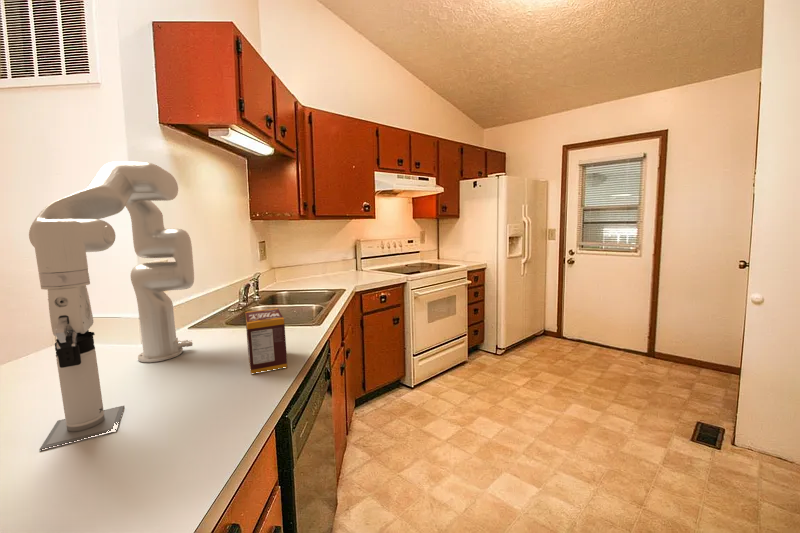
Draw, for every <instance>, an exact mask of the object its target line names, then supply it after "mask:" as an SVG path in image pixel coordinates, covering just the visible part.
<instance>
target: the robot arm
mask: <svg viewBox="0 0 800 533" xmlns="http://www.w3.org/2000/svg"><path fill="white" fill-rule="evenodd" d="M178 194H179V185H178V182H177V179H176V178H175V177H174V176H173V174H172V173H170V172H169V171H167V170H165V169H164V168H162V167H160V166H159V165H156V163H155V164H154V163H152V162H146V161H145V162H144V161H111V162H107V163H105V164H104V165H103V166H102V167H101V168H100V169H99V170H98V172H97V173H96V174H95V176H94V177H93V178H92V180H91V181H90V182H89V184H88V185H87V187H85V189H82V190H79V191H76V192H74V193H71V194H69V195H67V196H64V197H62V198H60V199H57V200H55V201H53V202H51V203H49V204H48V205H46V206H45V207H43V209H42V210H41V211H40V212H39V213H38V215H37V216H36V217H35V219H34V220H33V221H32V223H31V225H30V227H29V229H28V230H29V232H28V238H29V241H30V244H31V245H32V247H34V251H35V258H36V259H35V260H36V265H37V271H38V277H39V285H40V289H41V290H44V291H45V290H47V302H48V312H49V319H50V320H49V321H50V327H51V332H52V334H53V336H54V337H56V340H55V342H57V353H58V359H59V366H60V367H61V368H64V367H69V366H75V365H80V364H81V357H80V350H79V345H77V334H84V333H85V332H90V331H89V329H91V327H92V326H93V325H94V317H93V311H92V307H91V300H90V296H89V291H88V287H87V286H89V285H91V282H90V280H91V279H90V272H89V271H90V270H89V266H88V265H89V264H88V259H87V258H88V256H87V253H97V252H103V251H106V250H108V249H110V248H111V247H113V245H114V244H115V241H116V232H115V229H114V228H113V226H112V225H111V224H110V223H109V222H107V221H105V220H103V219H105V218H109V217H111V216H115V215H117V214H119V213H121V212H122V211H123V210H124V209H125V208H126V209H127V211H128V214H129V216H130V220H131V232H132V241H133V242H132V243H133V248H134V252H135V254H136V255H137V257H139V258H142V259H164V258H165V259H167V258H169V259H170V258H172V259H174V260H175V261H156V262H154V261H153V262H152V261H151V262H143V263H139V264H137V265H135V266H134V267H132V270H131V271H130V282H131V284H132V288H133V290H134V294H135V299H136V303H137V311H138V317H139V318H138V319H139V326H140V334H141V343H142V344H141V345H142V352H141V353H139V354H138V356H137V359H138V361H139V362H140V363H156V362H162V361H168V360H171V359H174V358H175V357H178V356H180V355H181V354H183V352H184V348H188V347H193V340H192V339H191V340H188V339H185V340H179V339H178V337H177V333H176V332H177V331H176V322H175V321H176V320H175V313H174V303H173V301H172V299H171V297H169V296H168V294H166V291H167V292H168V291H178V290H179V291H180V290H181V291H182V290H187V289H190V288H192V286H193V285H194V282H195V269H194V256H193V246H192V240H191V237H190V235H189V233H188V232H187V231H186V230H185V229H183V228H165V225H164V215H163V213H162V211H161V210H160V208H159V207H158V206H157V205H156V204H155V203H154V201H155V202H156V201H157V202H158V201H163V202H165V201H167V202H168V201H172V200H174V199H176V198H177V196H178ZM71 336H72V340H71Z"/></svg>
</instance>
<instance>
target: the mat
mask: <svg viewBox="0 0 800 533" xmlns="http://www.w3.org/2000/svg"><path fill="white" fill-rule="evenodd" d="M123 409H124V410H125V405H120V406H116V407H111V408H108V409H106V408H105V409H103V410H104V411H103V412H104V417H105V418H104V420H103V421H102V422H101V423H100V424H98V425H96V426H94V427H92V428H89V429H86V430H82V431H76V432H72V431H68V430H67V426H66V419H65V418H63V419H59V420H57V421H56V422H55V424H54V425H53V427H52V429H51V430H50V432H49V433H48V435H47V437H46V438H45V440H44V441H43V443H42V444H41V445H40V447H39V451H40V450H42V449H45V448H49V447H53V446H57V445H62V444H65V443H69V442H74V441H77V440H81V439H84V438H88V437H91V436H95V435H99V434H102V433H106V432H107V431H108V430H109V431H111V429H113V426H114V423H115V424H116V425H117V423H118V422H119V421H120V422H121V420H120V418H122V417H121V415H122V416H123V414H122V412H123V413H124V411H123ZM116 422H117V423H116ZM118 424H119V425H120V423H118ZM115 430H116V429H115ZM109 431H108V432H109Z"/></svg>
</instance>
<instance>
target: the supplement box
mask: <svg viewBox="0 0 800 533" xmlns="http://www.w3.org/2000/svg"><path fill="white" fill-rule="evenodd" d="M244 313H245V326H246V327H245V328H246V341H247V353H248V362H249V363H250V364H249V363H248V364H249V370H250V369H251V370H250V374H251V373H256V372H261V371H267V370H273V369H278V368H283V367H287V368H288V360H287V359H288V354H287V344H286V343H287V340H286V325H285V318H284V317H283V315H282V313H281V311H280V310H279V308H267V309H260V310H251V311H250V310H249V311H245V312H244Z"/></svg>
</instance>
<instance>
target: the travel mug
mask: <svg viewBox="0 0 800 533" xmlns="http://www.w3.org/2000/svg"><path fill="white" fill-rule="evenodd" d="M94 336H95V332H93V331H89V332H85V333H84V334H77V345H79V350H80V357H81V364H80V365H75V366H69V367H64V368H61V367H60V366H59V359H58V353H57V341H55V343H54V349H55V357H56V365H57V372H58V380H59V386H60V393H61V399H62V400H61V401H62V406H63V411H64V419H66V426H67V430H68V431H72V432H76V431H82V430H86V429H89V428H92V427H94V426H96V425H98V424H100V423H101V422H102V421H103V420H104V418H105V417H104V412H103V411H104V410H105V409H104V404H103V403H104V402H103V397H102V387H101V382H100V375H99V366H98V361H97V360H98V359H97V353H96V346H95V339H94ZM71 340H72V336H71Z"/></svg>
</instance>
